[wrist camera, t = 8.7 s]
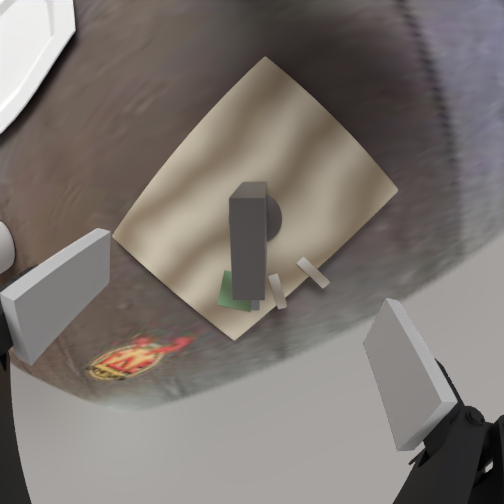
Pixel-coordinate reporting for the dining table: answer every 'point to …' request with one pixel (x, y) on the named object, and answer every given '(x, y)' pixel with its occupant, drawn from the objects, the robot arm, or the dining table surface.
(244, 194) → the grey rectangular block
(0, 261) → the pill bottle
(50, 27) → the plate
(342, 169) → the board
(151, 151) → the dining table surface
